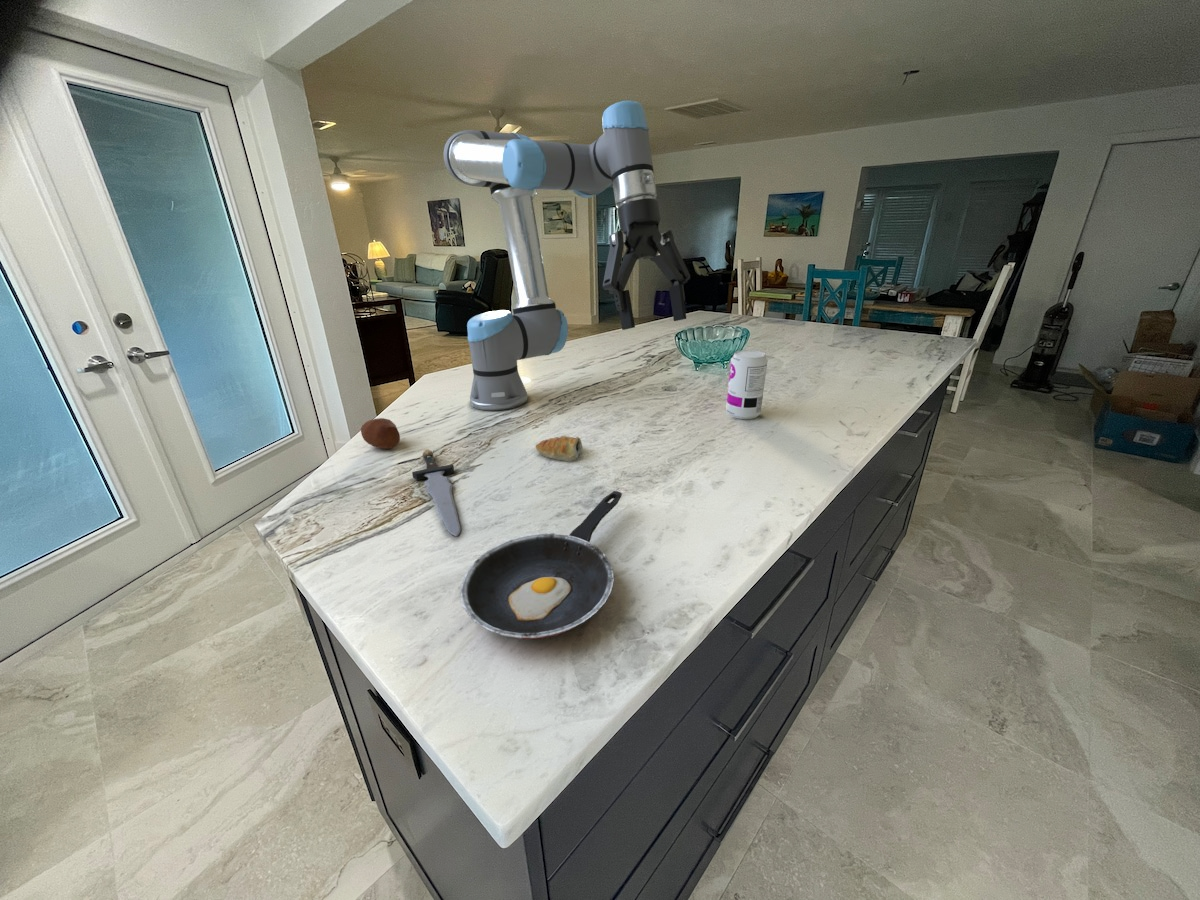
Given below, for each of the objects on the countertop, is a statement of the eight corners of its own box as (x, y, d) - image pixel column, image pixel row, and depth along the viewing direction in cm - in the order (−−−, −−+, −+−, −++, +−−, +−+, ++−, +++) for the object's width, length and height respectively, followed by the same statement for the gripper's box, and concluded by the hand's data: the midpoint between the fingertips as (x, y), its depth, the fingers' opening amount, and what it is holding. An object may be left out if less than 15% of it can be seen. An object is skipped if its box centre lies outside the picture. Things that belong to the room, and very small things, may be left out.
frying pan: (430, 621, 56) (424, 597, 55) (570, 497, 81) (568, 478, 80) (563, 684, 48) (560, 658, 46) (672, 524, 73) (673, 504, 72)
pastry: (531, 459, 95) (530, 442, 94) (542, 445, 101) (541, 429, 100) (576, 462, 93) (575, 445, 92) (584, 448, 99) (583, 432, 98)
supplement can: (723, 417, 113) (729, 356, 107) (728, 406, 120) (734, 348, 113) (758, 421, 110) (766, 359, 104) (761, 410, 117) (769, 350, 111)
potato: (376, 457, 98) (369, 428, 95) (359, 445, 104) (351, 418, 101) (408, 446, 102) (402, 419, 100) (389, 435, 108) (383, 409, 106)
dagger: (439, 452, 99) (437, 443, 98) (498, 522, 75) (497, 511, 74) (402, 462, 95) (400, 453, 94) (452, 538, 71) (450, 527, 70)
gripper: (594, 193, 74) (617, 329, 78) (698, 198, 88) (713, 313, 92) (568, 210, 80) (591, 335, 84) (670, 212, 94) (685, 319, 98)
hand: (655, 324), depth 88 cm, fingers open, 13 cm apart
